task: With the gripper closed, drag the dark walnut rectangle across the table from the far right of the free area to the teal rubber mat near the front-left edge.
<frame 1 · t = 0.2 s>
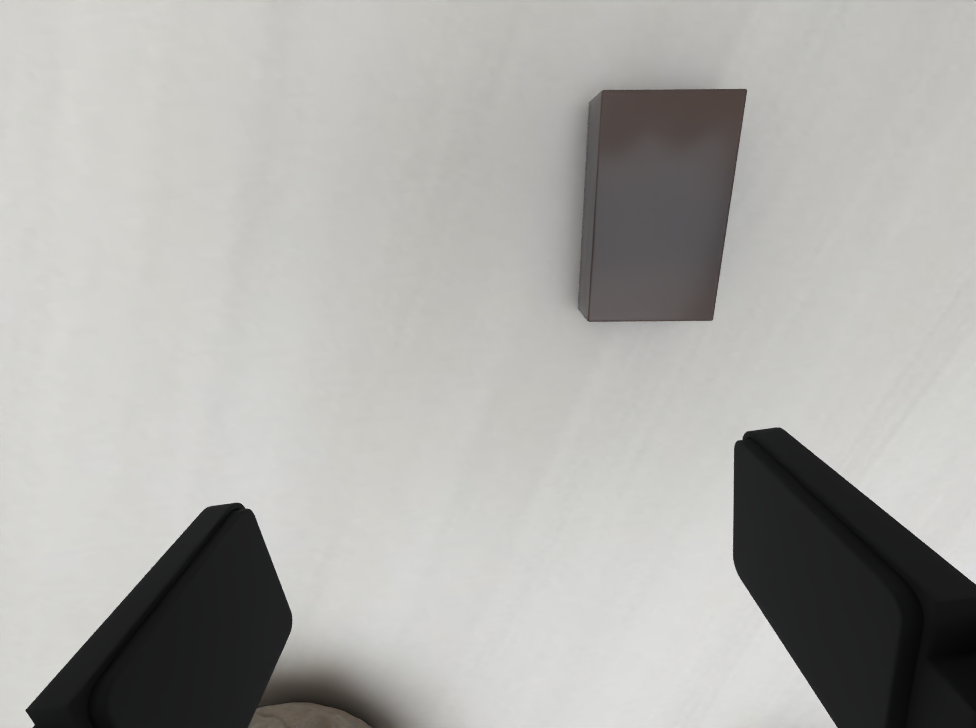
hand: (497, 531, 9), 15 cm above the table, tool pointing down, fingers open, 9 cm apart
walnut block: (643, 211, 22), on the table
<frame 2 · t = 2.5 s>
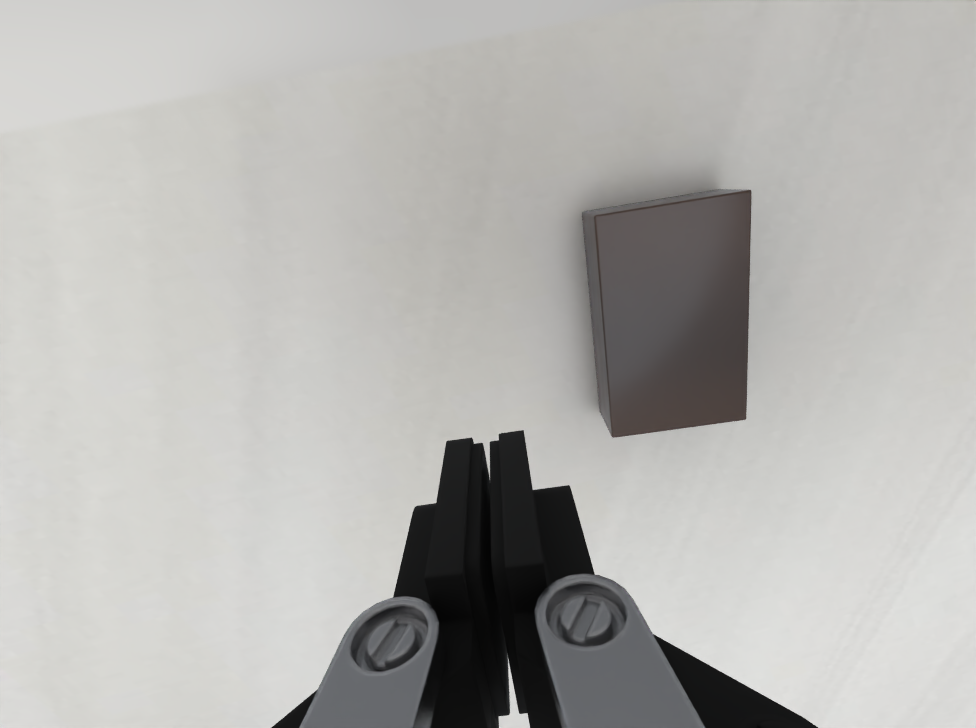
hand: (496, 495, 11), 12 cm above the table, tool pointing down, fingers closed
walnut block: (655, 309, 21), on the table
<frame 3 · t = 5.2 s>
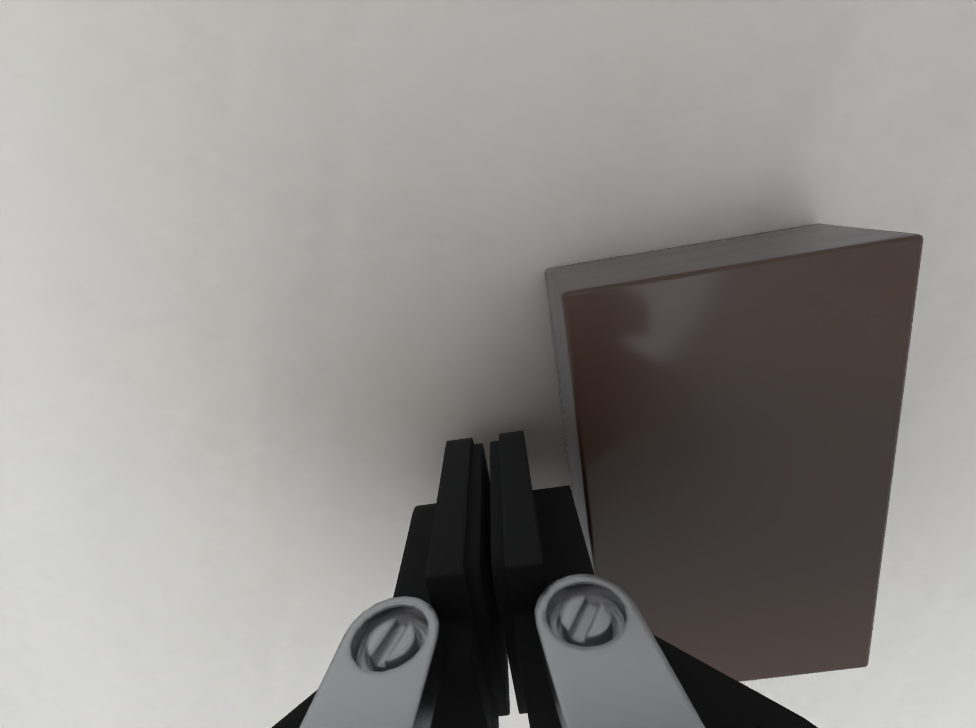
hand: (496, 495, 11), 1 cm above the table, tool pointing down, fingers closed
walnut block: (686, 442, 11), on the table, touching gripper
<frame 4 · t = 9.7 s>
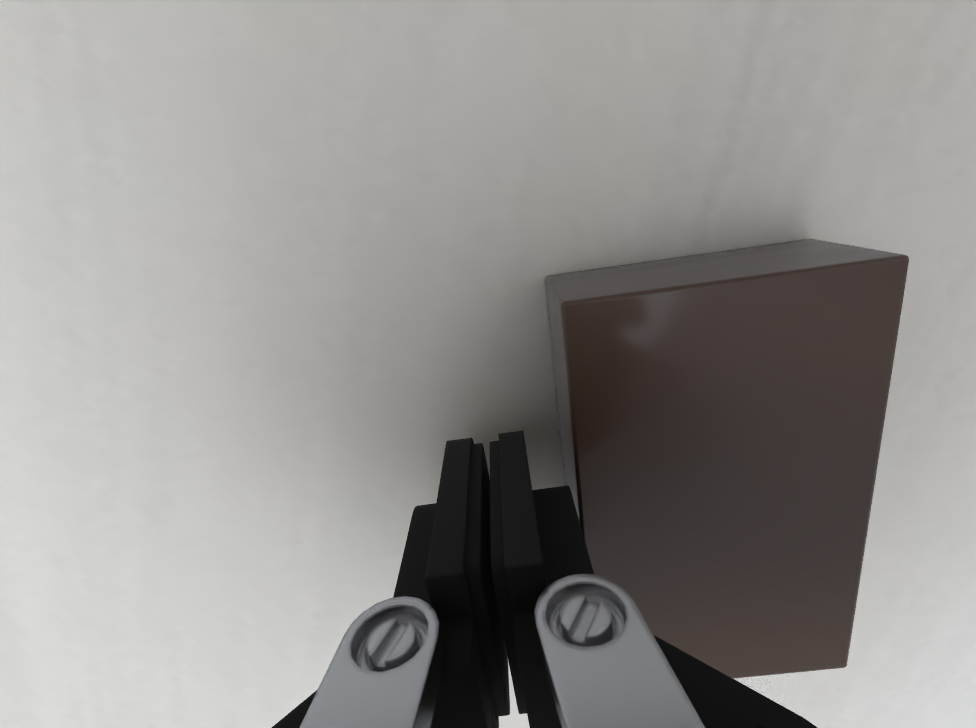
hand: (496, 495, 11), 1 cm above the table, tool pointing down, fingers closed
walnut block: (678, 447, 12), on the table, touching gripper
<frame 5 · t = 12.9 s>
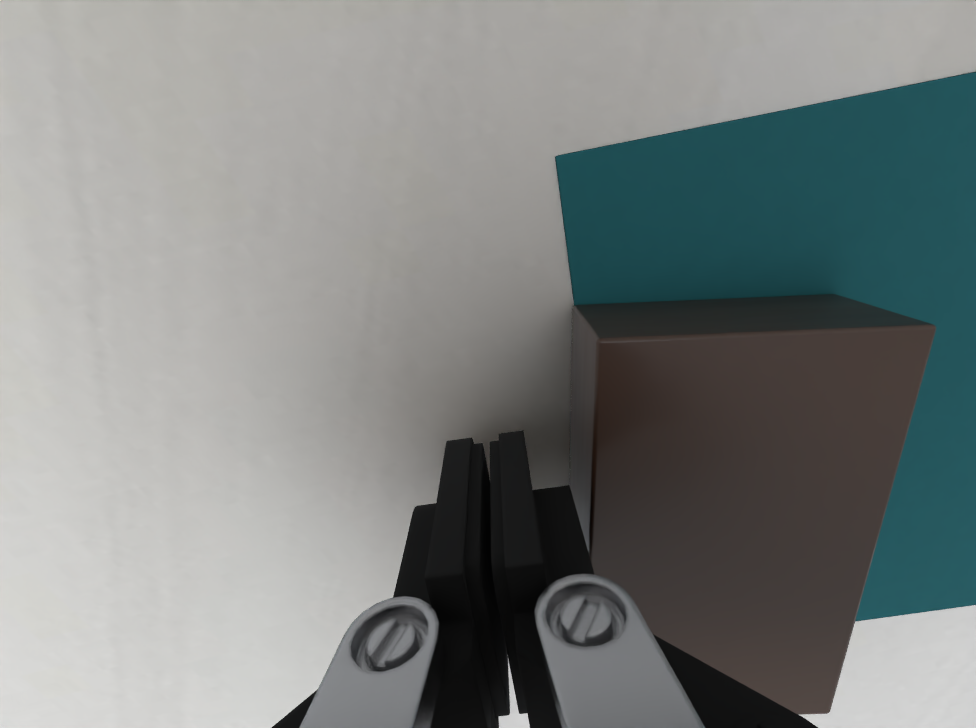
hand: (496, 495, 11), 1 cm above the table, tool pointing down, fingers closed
mat: (873, 401, 11), on the table
walnut block: (683, 483, 12), resting on mat
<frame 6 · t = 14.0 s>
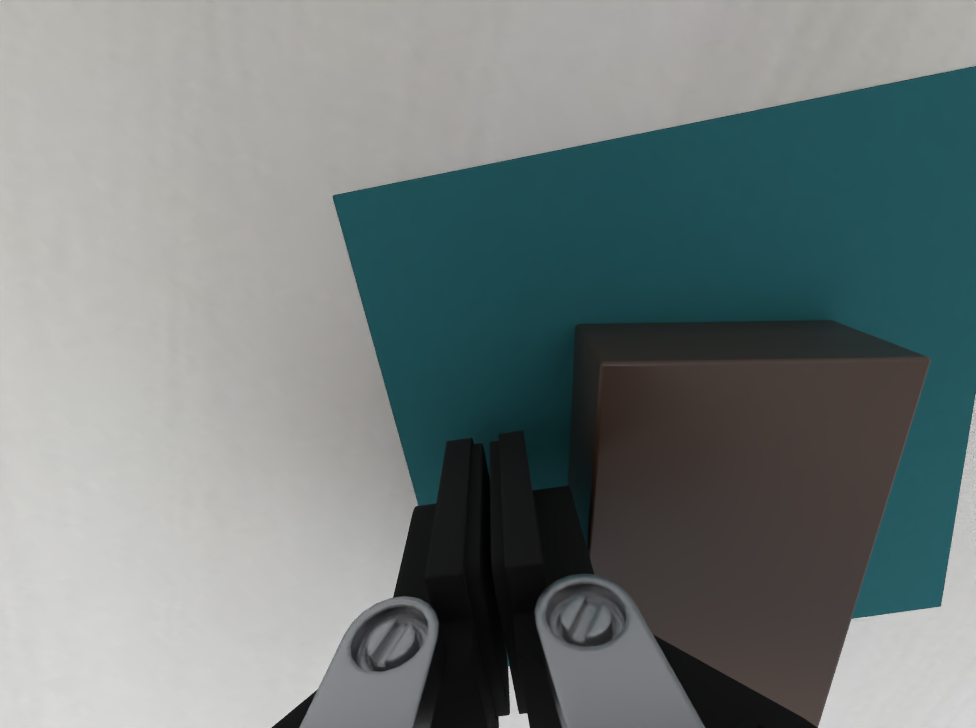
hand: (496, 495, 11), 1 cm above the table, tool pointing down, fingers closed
mat: (681, 429, 12), on the table
walnut block: (679, 500, 12), resting on mat, touching gripper
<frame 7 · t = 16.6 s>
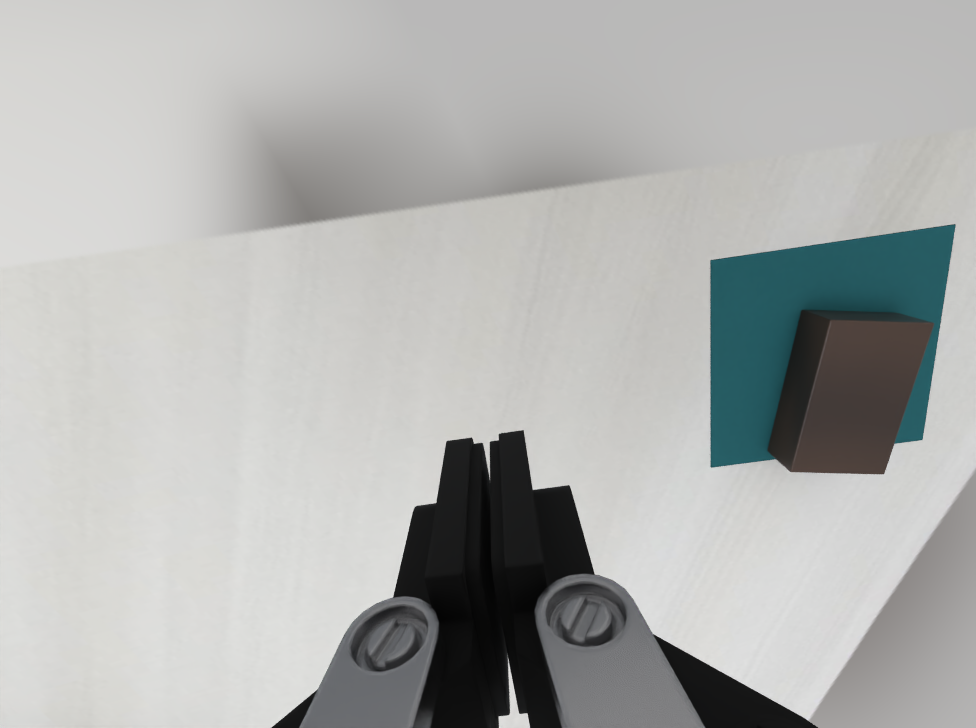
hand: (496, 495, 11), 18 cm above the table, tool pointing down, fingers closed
mat: (821, 354, 29), on the table
walnut block: (828, 385, 29), resting on mat
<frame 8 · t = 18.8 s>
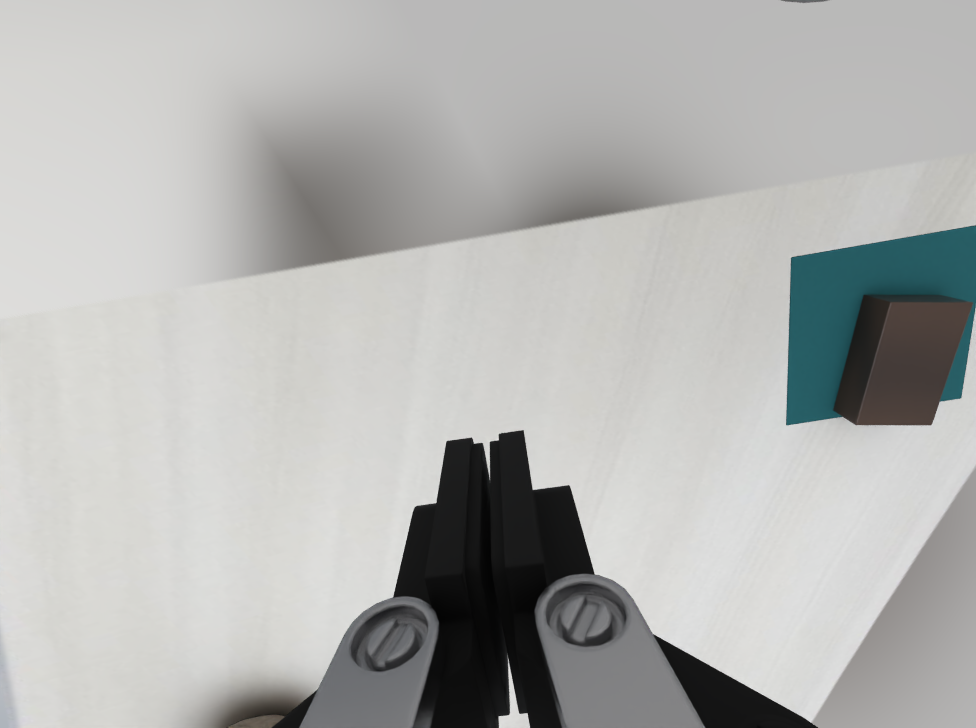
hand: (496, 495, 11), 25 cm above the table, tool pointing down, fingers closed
mat: (878, 330, 36), on the table
walnut block: (884, 355, 36), resting on mat
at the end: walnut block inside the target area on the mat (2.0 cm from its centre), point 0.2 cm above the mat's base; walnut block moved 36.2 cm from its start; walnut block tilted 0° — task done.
